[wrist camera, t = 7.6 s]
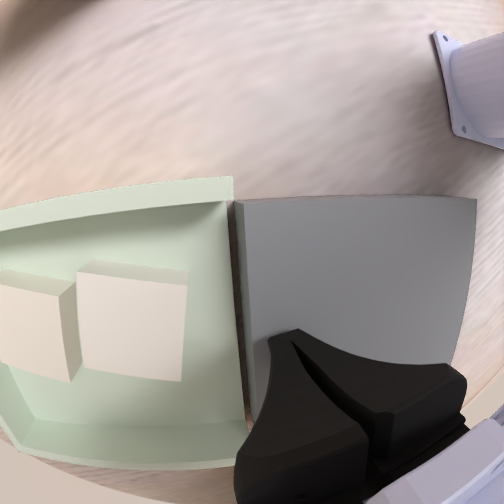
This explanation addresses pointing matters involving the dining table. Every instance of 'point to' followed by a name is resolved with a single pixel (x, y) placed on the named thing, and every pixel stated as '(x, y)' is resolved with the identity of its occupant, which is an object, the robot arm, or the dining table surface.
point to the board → (354, 276)
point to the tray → (123, 386)
